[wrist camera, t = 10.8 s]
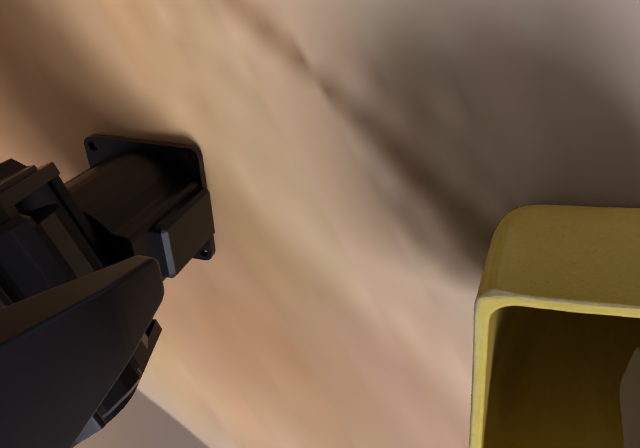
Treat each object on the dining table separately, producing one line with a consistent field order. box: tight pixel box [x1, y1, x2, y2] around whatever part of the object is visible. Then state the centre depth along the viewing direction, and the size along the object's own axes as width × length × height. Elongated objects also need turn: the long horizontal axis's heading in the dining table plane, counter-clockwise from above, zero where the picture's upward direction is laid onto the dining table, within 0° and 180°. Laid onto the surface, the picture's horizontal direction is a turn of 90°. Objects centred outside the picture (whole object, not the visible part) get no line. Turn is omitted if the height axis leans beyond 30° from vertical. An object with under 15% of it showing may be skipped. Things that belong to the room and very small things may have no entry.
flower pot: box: [469, 205, 640, 448], centre depth 18 cm, size 9×9×9 cm
